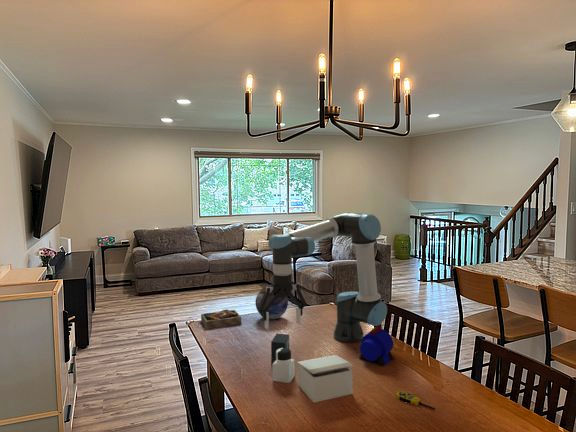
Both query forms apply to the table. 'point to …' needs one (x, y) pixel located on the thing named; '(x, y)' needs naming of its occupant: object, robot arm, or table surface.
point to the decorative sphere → (276, 308)
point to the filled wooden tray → (220, 321)
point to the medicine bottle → (283, 366)
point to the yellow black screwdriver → (410, 399)
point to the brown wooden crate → (221, 315)
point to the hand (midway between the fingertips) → (282, 326)
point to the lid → (324, 364)
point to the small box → (278, 344)
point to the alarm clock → (377, 346)
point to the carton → (325, 383)
